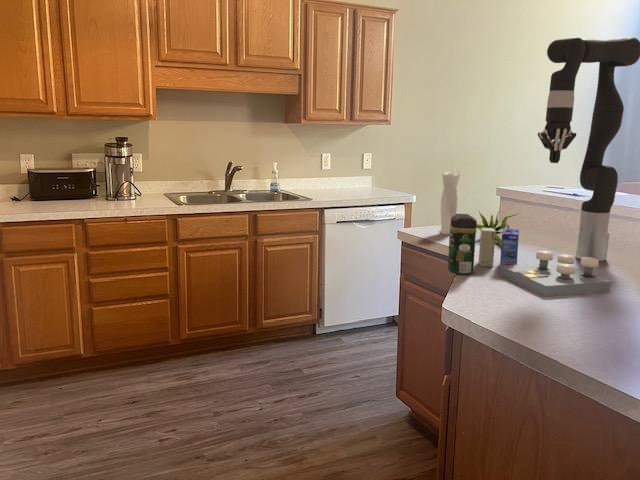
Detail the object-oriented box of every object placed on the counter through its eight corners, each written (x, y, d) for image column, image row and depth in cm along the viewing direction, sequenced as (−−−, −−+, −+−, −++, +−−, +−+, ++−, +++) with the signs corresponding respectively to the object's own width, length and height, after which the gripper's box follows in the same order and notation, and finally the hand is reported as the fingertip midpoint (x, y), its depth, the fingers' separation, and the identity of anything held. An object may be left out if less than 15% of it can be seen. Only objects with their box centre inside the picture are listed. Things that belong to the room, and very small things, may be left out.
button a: (565, 269, 178) (567, 254, 177) (576, 273, 173) (578, 257, 172) (552, 270, 177) (554, 254, 175) (563, 274, 172) (565, 258, 171)
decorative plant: (459, 248, 213) (462, 210, 210) (485, 235, 237) (487, 201, 234) (506, 255, 203) (510, 215, 200) (528, 241, 227) (532, 205, 224)
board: (559, 271, 182) (560, 261, 181) (610, 291, 161) (611, 280, 160) (500, 275, 176) (500, 264, 175) (544, 296, 155) (546, 285, 155)
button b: (588, 272, 168) (590, 256, 167) (600, 277, 164) (602, 260, 162) (575, 273, 167) (577, 257, 166) (587, 277, 162) (589, 261, 161)
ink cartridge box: (499, 262, 192) (503, 221, 189) (516, 264, 190) (520, 222, 187) (498, 269, 182) (502, 226, 179) (516, 271, 181) (520, 227, 178)
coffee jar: (445, 267, 184) (449, 211, 180) (470, 268, 184) (474, 212, 180) (449, 275, 175) (453, 216, 171) (474, 276, 174) (479, 217, 170)
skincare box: (493, 267, 185) (496, 231, 182) (479, 266, 186) (482, 230, 183) (491, 262, 191) (494, 227, 188) (478, 261, 192) (481, 227, 189)
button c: (544, 265, 175) (546, 250, 174) (554, 269, 171) (556, 253, 170) (531, 266, 174) (533, 250, 173) (541, 270, 170) (543, 254, 169)
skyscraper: (459, 236, 236) (464, 169, 230) (440, 235, 236) (444, 169, 230) (455, 232, 244) (459, 168, 238) (436, 231, 244) (440, 167, 238)
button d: (565, 279, 166) (567, 263, 165) (577, 283, 162) (579, 267, 161) (552, 280, 165) (553, 263, 164) (563, 284, 161) (565, 268, 159)
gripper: (569, 107, 177) (563, 161, 181) (534, 106, 173) (528, 162, 177) (586, 106, 170) (580, 163, 174) (549, 105, 166) (543, 164, 170)
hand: (554, 162), depth 175 cm, fingers closed
